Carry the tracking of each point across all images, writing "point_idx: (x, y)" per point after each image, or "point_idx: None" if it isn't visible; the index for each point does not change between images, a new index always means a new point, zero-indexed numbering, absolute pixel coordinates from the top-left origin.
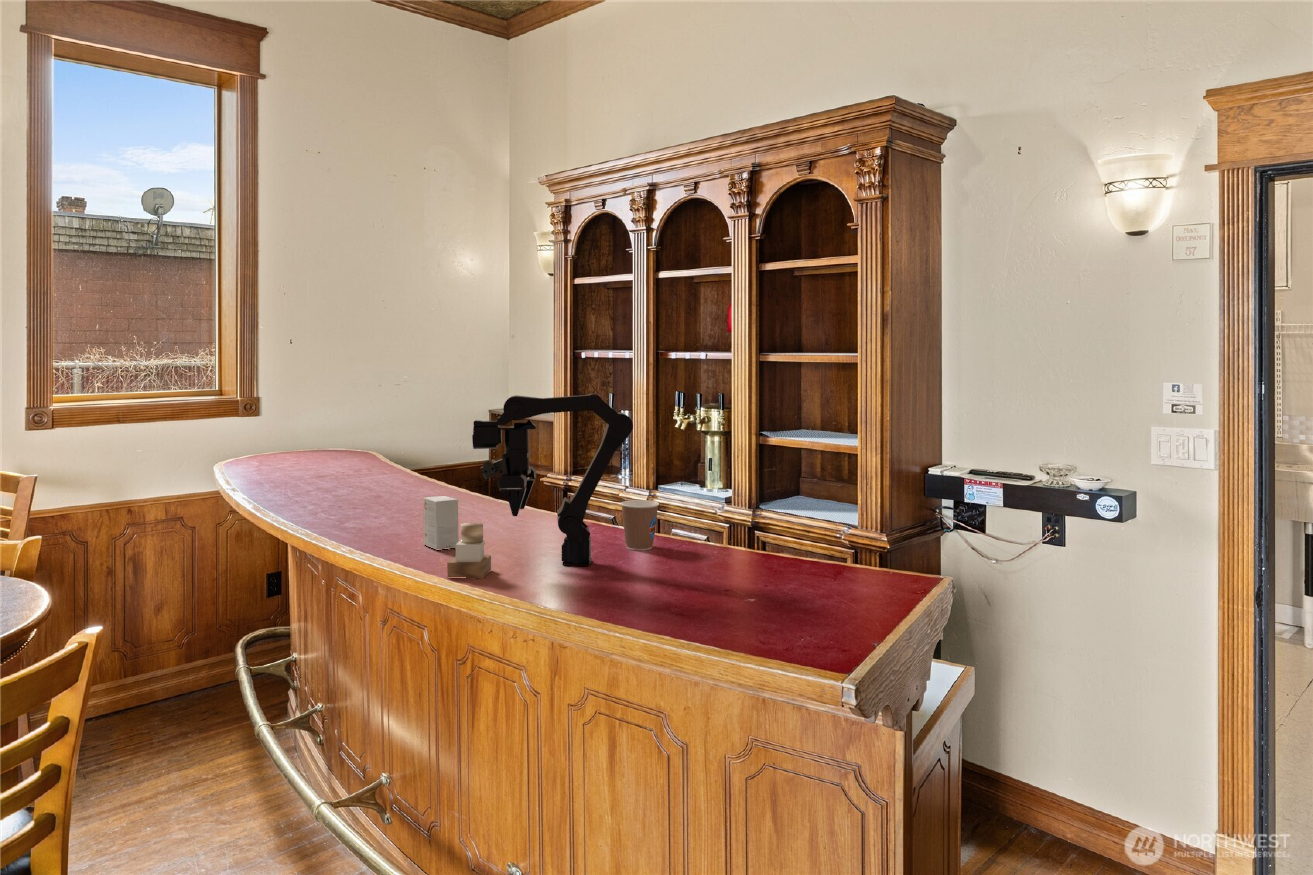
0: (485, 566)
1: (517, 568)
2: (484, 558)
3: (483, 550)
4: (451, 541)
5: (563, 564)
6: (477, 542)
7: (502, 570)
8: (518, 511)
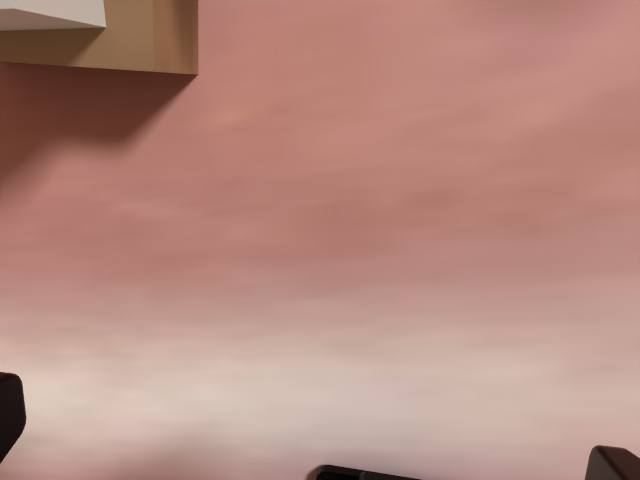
0: (26, 63)
1: (257, 230)
2: (50, 41)
3: (35, 22)
4: None
5: (318, 472)
6: None
7: (203, 147)
8: None
